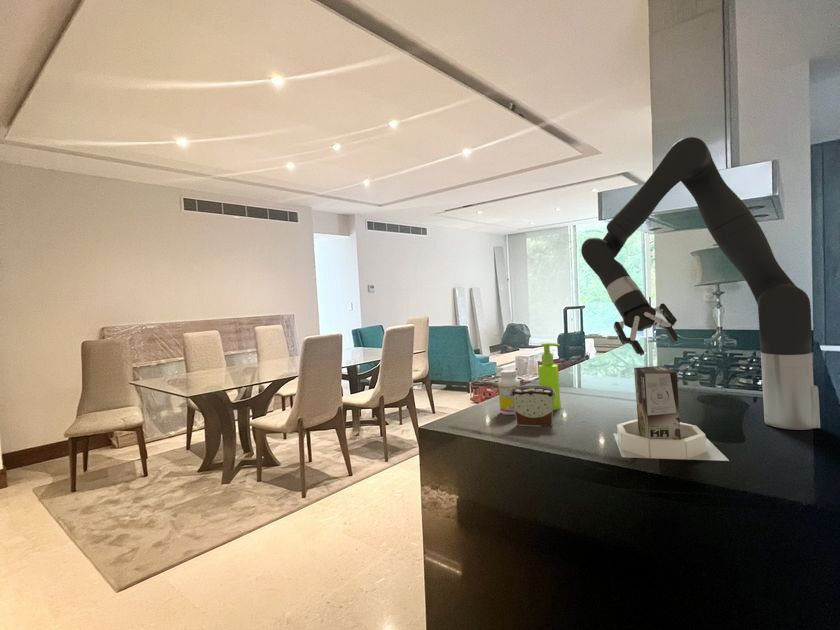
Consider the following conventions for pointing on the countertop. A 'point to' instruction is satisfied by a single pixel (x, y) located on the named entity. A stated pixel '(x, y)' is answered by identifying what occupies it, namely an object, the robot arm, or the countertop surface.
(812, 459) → the countertop surface
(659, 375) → the coffee box
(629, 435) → the bowl
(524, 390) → the food container
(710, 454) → the mat
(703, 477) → the countertop surface
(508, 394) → the supplement bottle
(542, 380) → the soap dispenser
